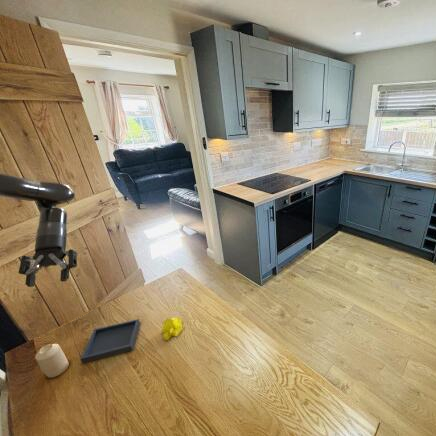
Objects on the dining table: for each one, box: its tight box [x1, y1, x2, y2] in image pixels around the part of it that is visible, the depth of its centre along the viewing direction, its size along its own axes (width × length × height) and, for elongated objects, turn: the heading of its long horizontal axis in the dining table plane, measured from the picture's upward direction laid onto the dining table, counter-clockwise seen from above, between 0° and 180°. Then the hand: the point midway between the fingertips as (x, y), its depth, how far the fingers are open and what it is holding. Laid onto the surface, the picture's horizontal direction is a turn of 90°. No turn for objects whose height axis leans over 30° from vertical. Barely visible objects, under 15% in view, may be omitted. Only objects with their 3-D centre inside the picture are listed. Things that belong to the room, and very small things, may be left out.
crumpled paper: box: [160, 317, 184, 341], centre depth 90 cm, size 6×8×8 cm
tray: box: [80, 318, 141, 364], centre depth 86 cm, size 15×13×2 cm
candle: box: [34, 343, 70, 379], centre depth 75 cm, size 6×6×10 cm
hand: (47, 283), depth 78 cm, fingers open, 8 cm apart
